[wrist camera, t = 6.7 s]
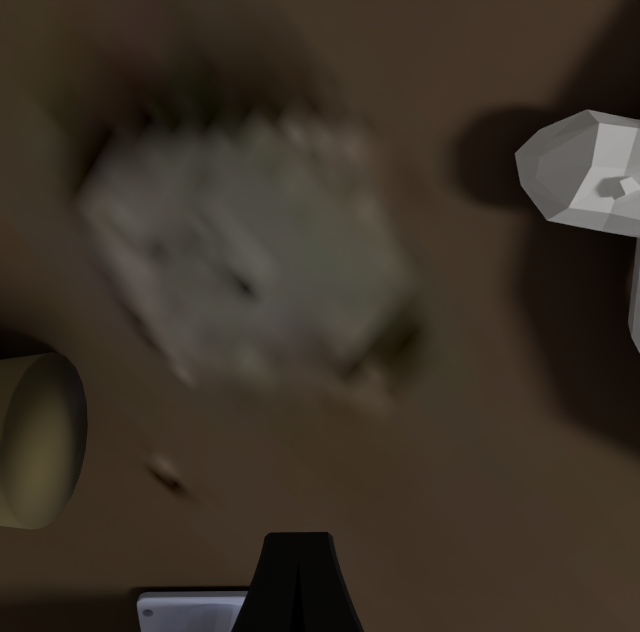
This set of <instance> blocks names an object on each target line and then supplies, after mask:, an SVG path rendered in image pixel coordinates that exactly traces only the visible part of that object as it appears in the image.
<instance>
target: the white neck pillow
mask: <svg viewBox="0 0 640 632" xmlns="http://www.w3.org/2000/svg"><path fill="white" fill-rule="evenodd" d="M515 158H516V163H517V168H518V174H519V179H520V184H521V186H522V187H523V189H524V190H525V192H526V193H527V194H528V196H529V197H530V198H531V200H532V201H533V202H534V204H535V205H536V206H537V208H538V209H539V210H540V212H541V213H542V214H543V216H544V217H545V218H546V220H547V221H552V222H557V223H562V224H567V225H572V226H577V227H583V228H588V229H593V230H598V231H603V232H609V233H615V234H620V235H626V236H632V237H637V244H636V253H635V262H634V271H633V280H632V290H631V299H630V308H629V317H628V326H629V330H630V333H631V337H632V339H633V341H634V343H635V345H636V347H637V349H638V351H639V353H640V120H637V119H632V118H627V117H622V116H617V115H612V114H607V113H602V112H597V111H592V110H584V111H582V112H580V113H577V114H575V115H572V116H570V117H568V118H565V119H563V120H561V121H558V122H556V123H554V124H551V125H549V126H547V127H544V128H542V129H539V130H538V131H537V132H536V133H535V134H534V135H533V136H532V137H531V138H530V139H529V140H528V141H527V142H526V143H525V144H524V145H523V146H522V147H521V148H520V149H519V150H518V151H517V152H516V153H515Z"/></svg>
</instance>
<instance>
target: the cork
mask: <svg viewBox="0 0 640 632" xmlns="http://www.w3.org/2000/svg"><path fill="white" fill-rule="evenodd" d="M87 427H88V424H87V403H86V398H85V393H84V389H83V384H82V381H81V379H80V377H79V374H78V372H77V370H76V368H75V366H74V365H73V364H72V363H71V362H70V361H69V360H68V359H67V357H66V356H63V355H60V354H57V353H54V352H52V353H45V354H38V355H31V356H24V357H16V358H9V359H2V360H0V526H6V527H15V528H23V529H31V530H35V529H39V528H42V527H45V526H48V525H49V524H50V523H51V522H52V521H53V520H54V519H56V518H57V517H58V516H59V515H60V514H61V513H62V511H63V509H64V508H65V506H66V504H67V503H68V501H69V499H70V498H71V496H72V494H73V491H74V489H75V486H76V483H77V481H78V478H79V475H80V473H81V468H82V463H83V459H84V454H85V450H86V439H87Z"/></svg>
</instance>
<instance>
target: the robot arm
mask: <svg viewBox="0 0 640 632" xmlns="http://www.w3.org/2000/svg"><path fill="white" fill-rule="evenodd" d="M137 610H138V616H139V622H140V628H141V632H364V630H363V628H362V625H361V623H360V621H359V618H358V616H357V613H356V611H355V608H354V606H353V604H352V601H351V598H350V596H349V593H348V590H347V587H346V584H345V582H344V579H343V576H342V573H341V569H340V566H339V563H338V559H337V556H336V551H335V547H334V542H333V536H332V535H330V534H329V533H328V532H280V533H269V534H268V535H267V536H265V539H264V543H263V548H262V552H261V555H260V559H259V562H258V565H257V568H256V571H255V574H254V577H253V579H252V582H251V585H250V587H249V590H248V591H199V592H145V593H142V594H141V595H140V596H139V598H138V601H137Z"/></svg>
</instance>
